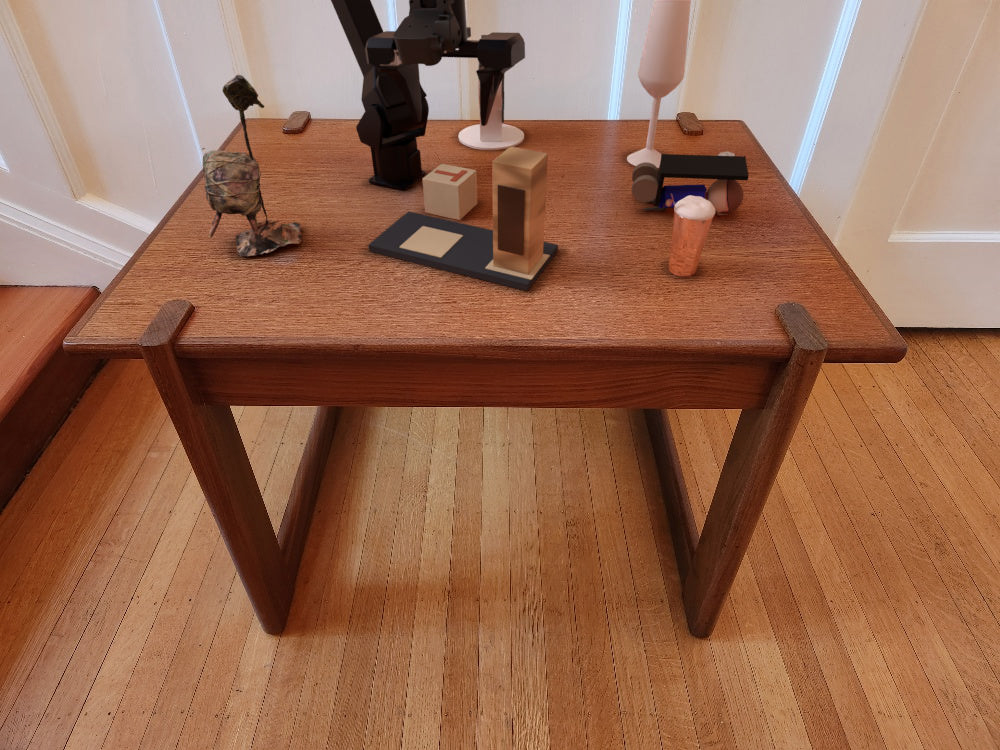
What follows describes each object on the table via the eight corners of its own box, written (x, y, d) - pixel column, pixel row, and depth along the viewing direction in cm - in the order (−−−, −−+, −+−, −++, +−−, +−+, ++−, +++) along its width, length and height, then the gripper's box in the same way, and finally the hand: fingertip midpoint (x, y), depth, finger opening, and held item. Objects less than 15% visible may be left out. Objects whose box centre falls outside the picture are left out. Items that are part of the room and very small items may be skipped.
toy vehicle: (630, 225, 90) (743, 224, 86) (631, 173, 85) (751, 169, 82) (631, 204, 95) (738, 201, 91) (632, 154, 90) (745, 149, 87)
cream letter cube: (425, 212, 90) (422, 177, 86) (443, 196, 93) (441, 162, 90) (459, 220, 88) (458, 185, 85) (477, 203, 92) (476, 169, 88)
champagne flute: (677, 162, 103) (709, -10, 87) (647, 172, 100) (674, -4, 84) (648, 148, 107) (673, -18, 91) (618, 157, 104) (638, -13, 88)
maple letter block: (492, 266, 77) (491, 161, 68) (509, 248, 80) (510, 146, 72) (527, 275, 75) (530, 169, 67) (543, 256, 79) (548, 153, 70)
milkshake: (652, 261, 80) (665, 185, 73) (694, 259, 80) (711, 183, 74) (662, 281, 76) (677, 203, 70) (705, 278, 77) (725, 201, 70)
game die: (732, 168, 101) (737, 149, 99) (736, 178, 98) (741, 159, 96) (709, 167, 101) (714, 149, 99) (713, 177, 98) (717, 158, 96)
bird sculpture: (222, 230, 86) (171, 72, 73) (308, 225, 87) (273, 68, 74) (209, 262, 80) (151, 95, 67) (302, 256, 81) (263, 90, 68)
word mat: (369, 251, 82) (367, 243, 81) (409, 217, 89) (408, 210, 88) (527, 291, 75) (528, 283, 74) (557, 251, 82) (558, 243, 81)
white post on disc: (524, 151, 106) (527, 53, 96) (456, 151, 106) (451, 53, 96) (523, 125, 115) (525, 33, 105) (460, 124, 115) (456, 32, 105)
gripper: (329, -9, 69) (355, 138, 79) (490, -11, 64) (498, 147, 73) (378, -22, 77) (396, 113, 87) (525, -24, 72) (527, 120, 81)
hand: (450, 123), depth 82 cm, fingers open, 9 cm apart
